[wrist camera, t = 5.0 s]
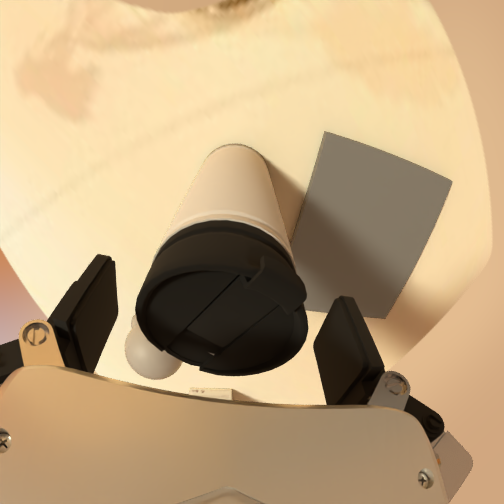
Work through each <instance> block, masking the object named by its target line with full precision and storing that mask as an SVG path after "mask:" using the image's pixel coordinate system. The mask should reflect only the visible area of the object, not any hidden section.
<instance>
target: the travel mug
mask: <svg viewBox="0 0 504 504" xmlns="http://www.w3.org/2000/svg"><path fill="white" fill-rule="evenodd" d="M306 299H307V292H306V288H305V284H304V283H303V281H302V279H301V278H300V276H298V275H297V271H296V266H295V262H294V259H293V254H292V251H291V247H290V244H289V240H288V236H287V233H286V229H285V226H284V222H283V219H282V215H281V212H280V208H279V205H278V201H277V198H276V195H275V191H274V188H273V185H272V181H271V178H270V175H269V171H268V168H267V165H266V163H265V161H264V159H263V158H262V156H261V155H260V154H259V153H258V152H257V151H255V150H254V149H252V148H251V147H248V146H246V145H242V144H228V145H223V146H221V147H219V148H217V149H215V150H214V151H212V152H211V153H210V154H209V155H208V157H207V158H206V160H205V161H204V163H203V165H202V166H201V168H200V170H199V172H198V173H197V175H196V177H195V179H194V181H193V182H192V184H191V186H190V188H189V190H188V191H187V193H186V195H185V197H184V199H183V201H182V203H181V204H180V206H179V208H178V210H177V212H176V214H175V216H174V218H173V220H172V222H171V224H170V226H169V228H168V230H167V232H166V234H165V236H164V238H163V240H162V242H161V244H160V246H159V248H158V250H157V252H156V254H155V256H154V259H153V263H152V266H151V268H150V270H149V272H148V274H147V277H146V279H145V281H144V283H143V286H142V288H141V290H140V292H139V295H138V297H137V301H136V307H135V311H136V319H137V322H138V324H139V327H140V329H141V331H142V333H143V334H144V336H145V337H146V339H147V340H148V341H149V342H150V343H151V344H153V345H154V346H155V347H156V348H157V349H159V350H160V351H161V352H162V351H164V350H165V351H166V352H167V353H168V354H170V355H171V356H173V357H175V358H177V359H178V360H181V361H183V362H185V363H188V364H190V365H194V366H200V369H199V370H200V371H203V372H207V373H211V374H215V375H222V376H247V375H253V374H259V373H263V372H266V371H270V370H272V369H275V368H277V367H279V366H281V365H283V364H285V363H286V362H288V361H289V360H290V359H292V358H293V357H294V356H295V355H296V354H297V353H298V352H299V351H300V349H301V348H302V346H303V344H304V342H305V341H306V337H307V333H308V320H307V315H306V311H305V307H304V303H303V302H305V300H306Z"/></svg>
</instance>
